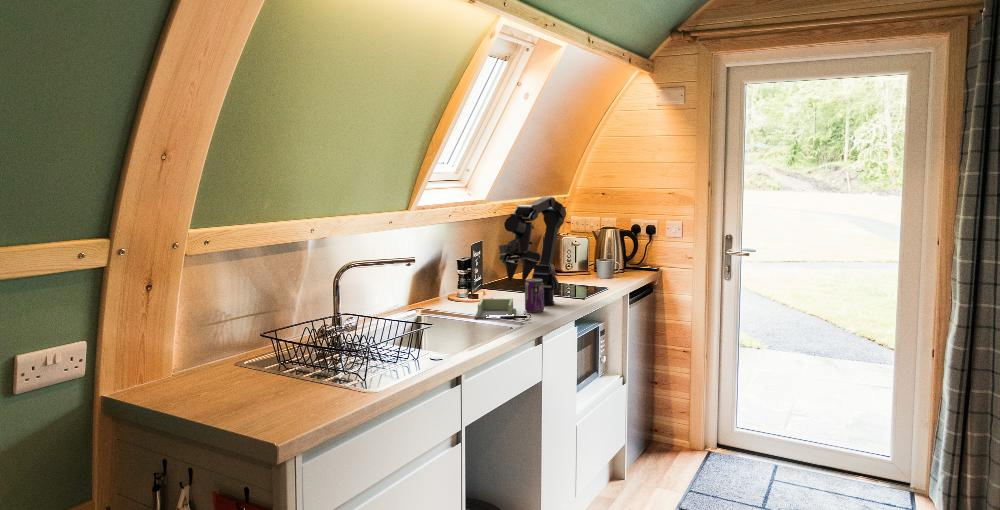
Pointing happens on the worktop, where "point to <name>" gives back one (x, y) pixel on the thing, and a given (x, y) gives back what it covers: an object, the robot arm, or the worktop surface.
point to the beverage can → (534, 295)
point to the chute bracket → (494, 307)
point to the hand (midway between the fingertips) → (516, 280)
